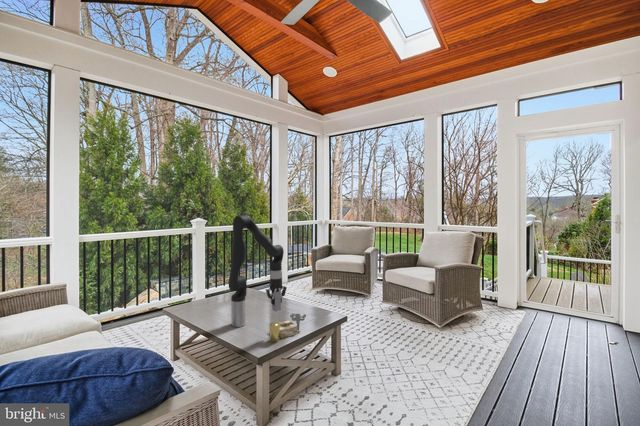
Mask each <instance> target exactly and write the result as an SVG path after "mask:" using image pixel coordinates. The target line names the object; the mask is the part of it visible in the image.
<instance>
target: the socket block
mask: <svg viewBox="0 0 640 426" xmlns="http://www.w3.org/2000/svg"><path fill="white" fill-rule="evenodd" d="M278 323H280V340H281V339H284V338H288V337H290V336H291V337H292V336H294V335H295V336H296V335H297V334H298V330H297V324H295V323H294V322H293V321H290V320H289V319H288V320H284V321H279V322H278Z"/></svg>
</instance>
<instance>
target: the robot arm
mask: <svg viewBox="0 0 640 426" xmlns="http://www.w3.org/2000/svg"><path fill="white" fill-rule="evenodd" d="M253 220H254V219H252V217H250V216H249V215H248V214H239V215H235V216H234V218H233V220H232V249H231V263H230V270H229V271H230V272H229V277H228V289H229V290H230V291H231V292H234V293H233V294H232V295H231V299H230V300H231V301H230V302H231V304H230V305H231V306H230V307H231V310H230V311H231V315H230V316H231V319H230V320H231V327H233V328H240V327H244V326H245V325H246V297H247V287H248V285H247V284H248V282H247V279H246V277H245V276H244V275H242V274H241V275H240V274H239V273H240V270H241V268H242V266H243V264H244V263H245V262H246V258H247V245H246V244H245V241H244V238H243V233H244V232H243V230H249V232H251V234H253V238H254V240H255V241H256V242H257V243H258V245H260V246H261V247H262V248H263V249H264V251H265V253H266V254H267V255H268V256H269V257H271V258H273V259H272V260H271V261H270V266H269V267H270V271H269V285H270V286H269V288H267V289H265V293H266V295H267V298H269V300H271V301H270V303H271V305H274V295H275V292H277V291H281V303H282V302H283V297H285V295H286V291H287V288H288V287H287V286H285V285H283V271H282V265H283V264H282V263H283V260H284V259H283V258H284V253H285V252H284V248H283V246H282V245H281V244H275V245H274V244H273V240H272V239H271V237H269V236H268V235H267V234H266V233H264V232H263V231H262V230H261V228H260V227H258V225H257V224H256V223H255V222H254V221H253Z"/></svg>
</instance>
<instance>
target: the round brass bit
mask: <svg viewBox="0 0 640 426" xmlns="http://www.w3.org/2000/svg"><path fill="white" fill-rule="evenodd" d="M280 341H281V339H280V323H279V322H277V321H274V322H271V323H269V342H270V343H278V342H280Z"/></svg>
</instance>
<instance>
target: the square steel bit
mask: <svg viewBox="0 0 640 426" xmlns="http://www.w3.org/2000/svg"><path fill="white" fill-rule="evenodd" d="M281 293H282V290H281V291H277V292H275V295H274V305H272V304H271V305H272V306H271V307H272V308H271V309H272V311H274V312H278V311H281V310H282V306H281V305H282V302H281Z"/></svg>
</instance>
